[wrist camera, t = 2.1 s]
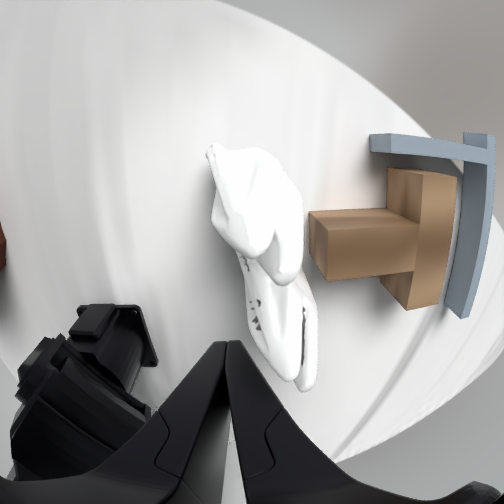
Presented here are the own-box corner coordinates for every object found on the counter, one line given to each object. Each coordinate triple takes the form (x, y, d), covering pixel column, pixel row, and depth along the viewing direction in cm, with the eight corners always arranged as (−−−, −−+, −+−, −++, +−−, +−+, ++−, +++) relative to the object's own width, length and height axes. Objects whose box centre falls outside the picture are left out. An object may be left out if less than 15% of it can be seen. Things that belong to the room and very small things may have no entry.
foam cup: (199, 442, 28) (191, 530, 16) (264, 423, 27) (272, 525, 14) (241, 466, 31) (242, 540, 19) (298, 450, 30) (312, 531, 18)
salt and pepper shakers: (207, 146, 17) (154, 143, 6) (271, 130, 16) (315, 102, 6) (252, 306, 21) (260, 431, 11) (306, 294, 21) (351, 410, 10)
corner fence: (452, 301, 22) (468, 316, 19) (359, 320, 22) (373, 341, 19) (471, 134, 16) (494, 136, 13) (368, 117, 16) (389, 114, 13)
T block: (409, 277, 21) (438, 303, 16) (309, 290, 21) (324, 324, 16) (419, 168, 17) (456, 177, 13) (307, 167, 17) (327, 173, 13)
